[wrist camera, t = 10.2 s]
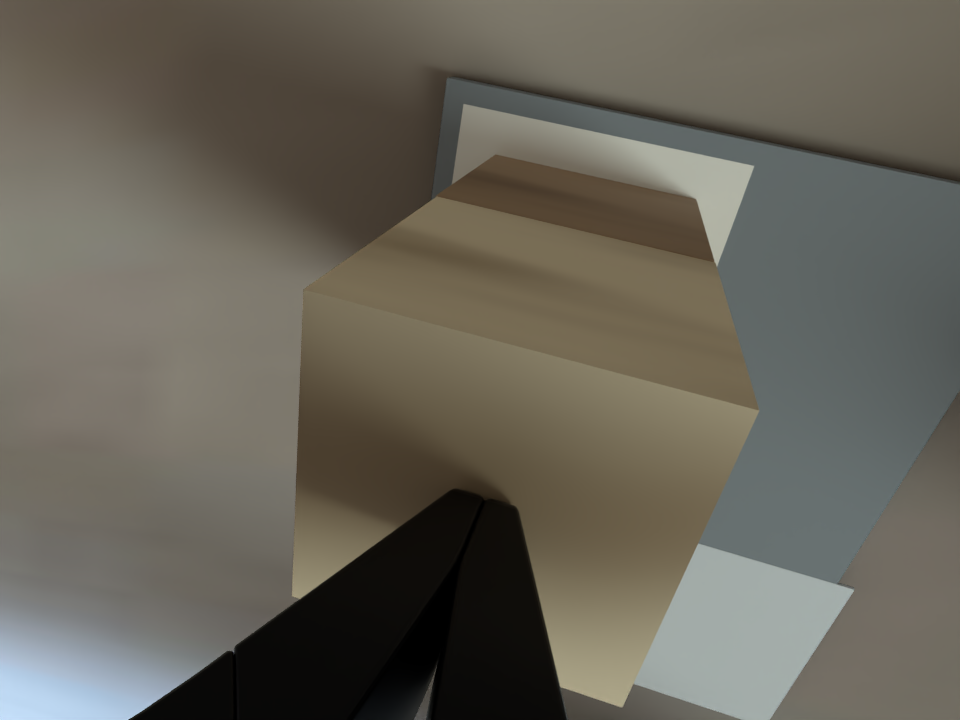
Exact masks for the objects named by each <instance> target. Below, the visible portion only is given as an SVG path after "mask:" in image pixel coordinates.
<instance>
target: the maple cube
mask: <svg viewBox="0 0 960 720" xmlns="http://www.w3.org/2000/svg"><path fill="white" fill-rule="evenodd" d="M758 413H759V408H758V404H757V401H756V398H755V394H754V391H753V387H752V384H751V381H750V377H749V374H748V371H747V367H746V364H745V360H744V357H743V354H742V350H741V347H740V344H739V340H738V337H737V333H736V330H735V327H734V323H733V320H732V317H731V313H730V310H729V306H728V303H727V300H726V296H725V293H724V290H723V286H722V283H721V279H720V276H719V273H718V269H717V266H716V263H715V262H711V261H706V260H702V259H698V258H694V257H690V256H685V255H681V254H677V253H673V252H669V251H664V250H660V249H656V248H652V247H648V246H643V245H639V244H635V243H631V242H626V241H622V240H618V239H614V238H610V237H605V236H601V235H597V234H593V233H589V232H584V231H580V230H576V229H572V228H568V227H563V226H559V225H555V224H551V223H547V222H542V221H538V220H534V219H530V218H525V217H521V216H517V215H513V214H509V213H504V212H500V211H496V210H492V209H488V208H483V207H479V206H475V205H471V204H467V203H462V202H458V201H454V200H450V199H446V198H441V197H435V198H434V199H432V200H431V201H430V202H428V203H427V204H425V205H424V206H422V207H421V208H420V209H418V210H417V211H415V212H414V213H412V214H411V215H410V216H408V217H407V218H405V219H404V220H402V221H401V222H399V223H398V224H397V225H395V226H394V227H392V228H391V229H389V230H388V231H387V232H385V233H384V234H382V235H381V236H379V237H378V238H376V239H375V240H374V241H372V242H371V243H369V244H368V245H366V246H365V247H364V248H362V249H361V250H359V251H358V252H356V253H355V254H354V255H352V256H351V257H349V258H348V259H346V260H345V261H343V262H342V263H341V264H339V265H338V266H336V267H335V268H333V269H332V270H331V271H329V272H328V273H326V274H325V275H323V276H322V277H320V278H319V279H318V280H316V281H315V282H313V283H312V284H310V285H309V286H308V287H306V288H305V289H303V314H302V341H301V368H300V394H299V421H298V448H297V474H296V501H295V527H294V554H293V581H292V597H295V598H298V599H301V598H302V597H303V596H305V595H306V594H307V593H309V592H310V591H312V590H313V589H314V588H316V587H317V586H318V585H320V584H321V583H323V582H324V581H325V580H327V579H328V578H330V577H331V576H332V575H334V574H335V573H336V572H338V571H339V570H341V569H342V568H343V567H345V566H346V565H347V564H349V563H350V562H352V561H353V560H354V559H356V558H357V557H358V556H360V555H361V554H363V553H364V552H365V551H367V550H368V549H369V548H371V547H372V546H374V545H375V544H376V543H378V542H379V541H380V540H382V539H383V538H385V537H386V536H387V535H389V534H390V533H392V532H393V531H394V530H396V529H397V528H398V527H400V526H401V525H403V524H404V523H405V522H407V521H408V520H409V519H411V518H412V517H414V516H415V515H416V514H418V513H419V512H420V511H422V510H423V509H425V508H426V507H427V506H429V505H430V504H431V503H433V502H434V501H436V500H437V499H438V498H440V497H441V496H442V495H444V494H445V493H447V492H448V491H449V490H451V489H454V488H458V489H461V490H465V491H468V492H471V493H475V494H478V495H481V496H482V497H483V499H484V502H485V501H486V500H487V499H489V498H491V499H495V500H498V501H502V502H505V503H508V504H512V505H514V506H516V507H517V508H518V510H519V513H520V518H521V522H522V526H523V530H524V535H525V539H526V543H527V547H528V552H529V556H530V560H531V564H532V569H533V573H534V577H535V581H536V586H537V590H538V594H539V598H540V603H541V607H542V611H543V615H544V620H545V624H546V628H547V632H548V637H549V641H550V645H551V649H552V654H553V658H554V662H555V666H556V671H557V675H558V679H559V683H560V687H562V688H565V689H568V690H571V691H574V692H577V693H580V694H583V695H586V696H589V697H592V698H595V699H598V700H601V701H604V702H607V703H610V704H613V705H616V706H619V707H623V705H624V703H625V701H626V699H627V697H628V694H629V692H630V690H631V688H632V686H633V684H634V681H635V679H636V677H637V675H638V673H639V671H640V668H641V666H642V664H643V662H644V660H645V658H646V655H647V653H648V651H649V649H650V647H651V645H652V642H653V640H654V638H655V636H656V634H657V632H658V629H659V627H660V625H661V623H662V621H663V619H664V616H665V614H666V612H667V610H668V608H669V606H670V603H671V601H672V599H673V597H674V595H675V593H676V590H677V588H678V586H679V584H680V582H681V580H682V577H683V575H684V573H685V571H686V569H687V567H688V564H689V562H690V560H691V558H692V556H693V554H694V551H695V549H696V547H697V545H698V543H699V541H700V538H701V536H702V534H703V532H704V530H705V528H706V525H707V523H708V521H709V519H710V517H711V515H712V512H713V510H714V508H715V506H716V504H717V502H718V499H719V497H720V495H721V493H722V491H723V489H724V486H725V484H726V482H727V480H728V478H729V476H730V473H731V471H732V469H733V467H734V465H735V463H736V460H737V458H738V456H739V454H740V452H741V450H742V447H743V445H744V443H745V441H746V439H747V437H748V434H749V432H750V430H751V428H752V426H753V424H754V421H755V419H756V417H757V415H758Z"/></svg>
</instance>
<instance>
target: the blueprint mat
mask: <svg viewBox="0 0 960 720" xmlns="http://www.w3.org/2000/svg"><path fill="white" fill-rule="evenodd" d="M495 154H496V155H500V156H505V157H509V158H514V159H518V160H523V161H527V162H532V163H536V164H541V165H545V166H550V167H554V168H559V169H563V170H568V171H572V172H577V173H581V174H586V175H590V176H595V177H599V178H604V179H608V180H612V181H617V182H621V183H626V184H630V185H635V186H639V187H644V188H648V189H653V190H657V191H662V192H666V193H671V194H675V195H680V196H684V197H689V198H693V199H696V200H697V203H698V207H699V210H700V213H701V217H702V220H703V224H704V227H705V231H706V234H707V237H708V241H709V244H710V248H711V251H712V254H713V258H714V262H715V263H716V266H717V269H718V273H719V276H720V279H721V283H722V286H723V290H724V293H725V296H726V300H727V303H728V306H729V310H730V313H731V317H732V320H733V323H734V327H735V330H736V333H737V337H738V340H739V344H740V347H741V350H742V354H743V357H744V360H745V364H746V367H747V371H748V374H749V377H750V381H751V384H752V387H753V391H754V394H755V398H756V401H757V404H758V408H759V413H758V415H757V417H756V419H755V421H754V424H753V426H752V428H751V430H750V432H749V434H748V437H747V439H746V441H745V443H744V445H743V447H742V450H741V452H740V454H739V456H738V458H737V460H736V463H735V465H734V467H733V469H732V471H731V473H730V476H729V478H728V480H727V482H726V484H725V486H724V489H723V491H722V493H721V495H720V497H719V499H718V502H717V504H716V506H715V508H714V510H713V512H712V515H711V517H710V519H709V521H708V523H707V525H706V528H705V530H704V532H703V534H702V536H701V538H700V541H699V543H698V545H697V547H696V549H695V551H694V554H693V556H692V558H691V560H690V562H689V564H688V567H687V569H686V571H685V573H684V575H683V577H682V580H681V582H680V584H679V586H678V588H677V590H676V593H675V595H674V597H673V599H672V601H671V603H670V606H669V608H668V610H667V612H666V614H665V616H664V619H663V621H662V623H661V625H660V627H659V629H658V632H657V634H656V636H655V638H654V640H653V642H652V645H651V647H650V649H649V651H648V653H647V655H646V658H645V660H644V662H643V664H642V666H641V668H640V671H639V673H638V675H637V677H636V679H635V681H634V684H636V685H639V686H642V687H645V688H648V689H651V690H654V691H657V692H660V693H663V694H666V695H669V696H672V697H675V698H678V699H681V700H684V701H687V702H690V703H693V704H696V705H699V706H702V707H705V708H708V709H711V710H715V711H718V712H721V713H724V714H727V715H730V716H733V717H736V718H739V719H742V720H770V718H771V717H772V715H773V714H774V712H775V711H776V709H777V707H778V706H779V704H780V703H781V701H782V700H783V698H784V697H785V695H786V694H787V692H788V691H789V689H790V688H791V686H792V685H793V683H794V681H795V680H796V678H797V677H798V675H799V674H800V672H801V671H802V669H803V668H804V666H805V665H806V663H807V662H808V660H809V659H810V657H811V656H812V654H813V652H814V651H815V649H816V648H817V646H818V645H819V643H820V642H821V640H822V639H823V637H824V636H825V634H826V633H827V631H828V630H829V628H830V626H831V625H832V623H833V622H834V620H835V619H836V617H837V616H838V614H839V613H840V611H841V610H842V608H843V607H844V605H845V604H846V602H847V600H848V599H849V597H850V596H851V594H852V593H853V591H854V587H851V586H848V585H844V584H841V583H838V582H839V581H840V579H841V577H842V576H843V574H844V573H845V571H846V569H847V568H848V566H849V565H850V563H851V562H852V560H853V558H854V557H855V555H856V554H857V552H858V550H859V549H860V547H861V546H862V544H863V543H864V541H865V539H866V538H867V536H868V535H869V533H870V531H871V530H872V528H873V527H874V525H875V524H876V522H877V520H878V519H879V517H880V516H881V514H882V512H883V511H884V509H885V508H886V506H887V505H888V503H889V501H890V500H891V498H892V497H893V495H894V493H895V492H896V490H897V489H898V487H899V486H900V484H901V482H902V481H903V479H904V478H905V476H906V474H907V473H908V471H909V470H910V468H911V466H912V465H913V463H914V462H915V460H916V459H917V457H918V455H919V454H920V452H921V451H922V449H923V447H924V446H925V444H926V443H927V441H928V440H929V438H930V436H931V435H932V433H933V432H934V430H935V428H936V427H937V425H938V424H939V422H940V421H941V419H942V417H943V416H944V414H945V413H946V411H947V409H948V408H949V406H950V405H951V403H952V402H953V400H954V398H955V397H956V395H957V394H958V392H959V390H960V182H958V181H953V180H948V179H943V178H938V177H934V176H929V175H924V174H919V173H914V172H910V171H905V170H900V169H895V168H890V167H886V166H881V165H876V164H871V163H866V162H862V161H857V160H852V159H847V158H842V157H837V156H833V155H828V154H823V153H818V152H813V151H809V150H804V149H799V148H794V147H789V146H785V145H780V144H775V143H770V142H765V141H761V140H756V139H751V138H746V137H741V136H736V135H732V134H727V133H722V132H717V131H712V130H708V129H703V128H698V127H693V126H688V125H684V124H679V123H674V122H669V121H664V120H660V119H655V118H650V117H645V116H640V115H635V114H631V113H626V112H621V111H616V110H611V109H607V108H602V107H597V106H592V105H587V104H583V103H578V102H573V101H568V100H563V99H559V98H554V97H549V96H544V95H539V94H534V93H530V92H525V91H520V90H515V89H510V88H506V87H501V86H496V85H491V84H486V83H482V82H477V81H472V80H467V79H462V78H457V77H449V78H447V82H446V90H445V98H444V105H443V113H442V120H441V128H440V136H439V143H438V151H437V158H436V166H435V174H434V181H433V189H432V197H431V200H432V199H434V198H435V197H436V195H437V194H439V193H440V192H442V191H443V190H445V189H446V188H448V187H449V186H450V185H452V184H453V183H455V182H456V181H458V180H459V179H461V178H462V177H464V176H465V175H466V174H468V173H469V172H471V171H472V170H474V169H475V168H477V167H478V166H479V165H481V164H482V163H484V162H485V161H487V160H488V159H490V158H491V157H493V156H494V155H495Z"/></svg>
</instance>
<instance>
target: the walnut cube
mask: <svg viewBox="0 0 960 720" xmlns="http://www.w3.org/2000/svg"><path fill="white" fill-rule="evenodd" d="M436 197H441V198H446V199H450V200H454V201H458V202H462V203H467V204H471V205H475V206H479V207H483V208H488V209H492V210H496V211H500V212H504V213H509V214H513V215H517V216H521V217H525V218H530V219H534V220H538V221H542V222H547V223H551V224H555V225H559V226H563V227H568V228H572V229H576V230H580V231H584V232H589V233H593V234H597V235H601V236H605V237H610V238H614V239H618V240H622V241H626V242H631V243H635V244H639V245H643V246H648V247H652V248H656V249H660V250H664V251H669V252H673V253H677V254H681V255H685V256H690V257H694V258H698V259H702V260H706V261H711V262H714V258H713V254H712V251H711V248H710V244H709V241H708V237H707V234H706V231H705V227H704V224H703V220H702V217H701V213H700V210H699V207H698V203H697V200H696V199H693V198H689V197H684V196H680V195H675V194H671V193H666V192H662V191H657V190H653V189H648V188H644V187H639V186H635V185H630V184H626V183H621V182H617V181H612V180H608V179H604V178H599V177H595V176H590V175H586V174H581V173H577V172H572V171H568V170H563V169H559V168H554V167H550V166H545V165H541V164H536V163H532V162H527V161H523V160H518V159H514V158H509V157H505V156H500V155H496V154H495V155H494V156H493V157H491V158H490V159H488V160H487V161H485V162H484V163H482V164H481V165H479V166H478V167H477V168H475V169H474V170H472V171H471V172H469V173H468V174H466V175H465V176H464V177H462V178H461V179H459V180H458V181H456V182H455V183H453V184H452V185H450V186H449V187H448V188H446V189H445V190H443V191H442V192H440V193H439V194H437V195H436Z"/></svg>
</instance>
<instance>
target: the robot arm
mask: <svg viewBox="0 0 960 720" xmlns="http://www.w3.org/2000/svg"><path fill="white" fill-rule="evenodd" d="M436 666H437V668H436ZM435 669H436V673H435V677H434V682H433V687H432V691H431V696H430V701H429V706H428V712H427V717H426V720H568V717H567V713H566V709H565V705H564V700H563V696H562V692H561V688H560V683H559V679H558V675H557V671H556V666H555V662H554V658H553V654H552V649H551V645H550V641H549V637H548V632H547V628H546V624H545V620H544V615H543V611H542V607H541V603H540V598H539V594H538V590H537V586H536V581H535V577H534V573H533V569H532V564H531V560H530V556H529V552H528V547H527V543H526V539H525V535H524V530H523V526H522V522H521V518H520V513H519V510H518V508H517V507H516V506H514V505H512V504H508V503H505V502H502V501H498V500H495V499H491V498H489V499H487V500H486V501H485V502H484V499H483V497H482V496H481V495H478V494H475V493H471V492H468V491H465V490H461V489H458V488H454V489H451V490H449V491H448V492H447V493H445V494H444V495H442V496H441V497H440V498H438V499H437V500H436V501H434V502H433V503H431V504H430V505H429V506H427V507H426V508H425V509H423V510H422V511H420V512H419V513H418V514H416V515H415V516H414V517H412V518H411V519H409V520H408V521H407V522H405V523H404V524H403V525H401V526H400V527H398V528H397V529H396V530H394V531H393V532H392V533H390V534H389V535H387V536H386V537H385V538H383V539H382V540H380V541H379V542H378V543H376V544H375V545H374V546H372V547H371V548H369V549H368V550H367V551H365V552H364V553H363V554H361V555H360V556H358V557H357V558H356V559H354V560H353V561H352V562H350V563H349V564H347V565H346V566H345V567H343V568H342V569H341V570H339V571H338V572H336V573H335V574H334V575H332V576H331V577H330V578H328V579H327V580H325V581H324V582H323V583H321V584H320V585H318V586H317V587H316V588H314V589H313V590H312V591H310V592H309V593H307V594H306V595H305V596H303V597H302V598H301V599H299V600H298V601H296V602H295V603H294V604H292V605H291V606H290V607H288V608H287V609H285V610H284V611H283V612H281V613H280V614H279V615H277V616H276V617H274V618H273V619H272V620H270V621H269V622H267V623H266V624H265V625H263V626H262V627H261V628H259V629H258V630H256V631H255V632H254V633H252V634H251V635H250V636H248V637H247V638H245V639H244V640H243V641H241V642H240V643H239V644H237V645H236V646H235V648H234V653H233V652H232V651H227V652H225V653H224V654H223V655H221V656H220V657H219V658H217V659H216V660H215V661H213V662H212V663H210V664H209V665H208V666H206V667H205V668H204V669H202V670H201V671H200V672H198V673H197V674H195V675H194V676H192V677H191V678H190V679H188V680H187V681H185V682H184V683H182V684H181V685H179V686H178V687H176V688H175V689H174V690H172V691H171V692H169V693H168V694H166V695H165V696H163V697H162V698H161V699H159V700H158V701H156V702H155V703H153V704H152V705H150V706H149V707H147V708H146V709H145V710H143V711H142V712H140V713H138V714H137V715H135V716H134V717H132V718H130V719H129V720H414V718H415V716H416V714H417V711H418V709H419V707H420V705H421V703H422V700H423V698H424V696H425V694H426V691H427V689H428V687H429V684H430V682H431V679H432V677H433V675H434V672H435Z"/></svg>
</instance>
